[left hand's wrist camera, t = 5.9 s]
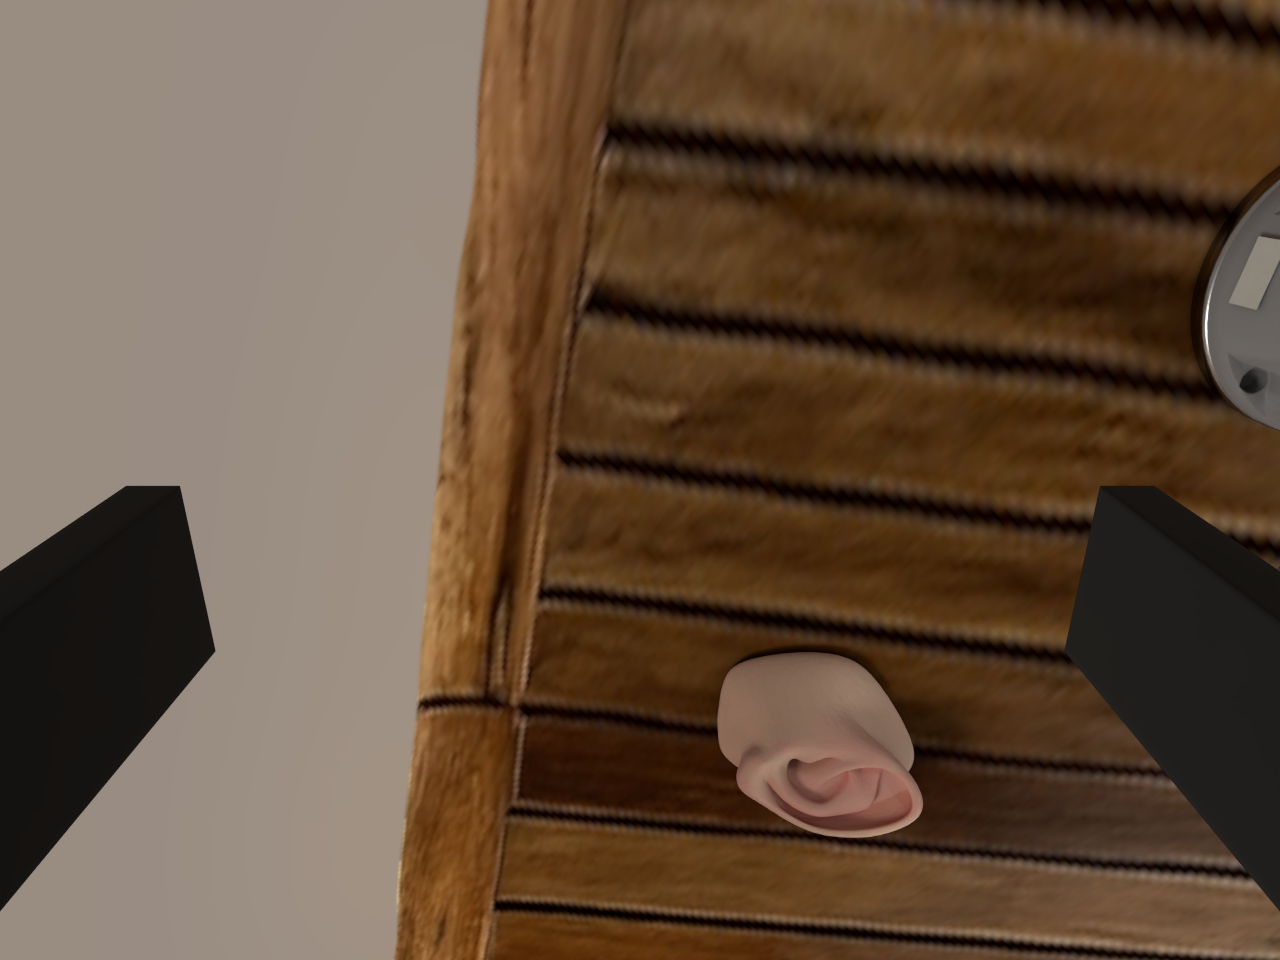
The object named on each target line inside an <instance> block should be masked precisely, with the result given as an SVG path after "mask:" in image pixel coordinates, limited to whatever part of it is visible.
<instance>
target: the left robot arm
mask: <svg viewBox="0 0 1280 960" xmlns="http://www.w3.org/2000/svg"><path fill="white" fill-rule="evenodd" d="M1191 336H1192V343H1193V348H1194V352H1195V356H1196V360H1197V362H1198V365H1199V367H1200V370H1201V372H1202V374H1203V376H1204V377H1205V379H1206V381H1207V382H1208V384H1209V385H1210V387H1211V388H1212V390H1213V391H1214V392H1215V393H1216V394H1217V395H1218V396H1219V397H1220V398H1221V399H1222V400H1223V401H1224V402H1225V403H1226V404H1227V405H1229V406H1230V407H1231V408H1233V409H1234V410H1236V411H1237V412H1239V413H1240V414H1242V415H1244V416H1246V417H1248V418H1250V419H1252V420H1255V421H1257V422H1259V423H1261V424H1263V425H1266V426H1268V427H1271V428H1273V429H1276V430H1279V431H1280V168H1278V169H1277V170H1276V171H1274V172H1273V173H1272V174H1271V175H1269V176H1268V177H1267V178H1266V179H1264V180H1263V181H1262V182H1261V183H1260V184H1259V185H1258V186H1257V187H1256V188H1254V189H1253V190H1252V191H1251V192H1250V193H1249V194H1248V195H1247V197H1246V198H1245V199H1244V200H1243V201H1242V202H1241V203H1240V204H1239V205H1238V206H1237V208H1236V209H1235V210H1234V211H1233V213H1232V214H1231V215H1230V216H1229V218H1228V219H1227V221H1226V222H1225V224H1224V225H1223V227H1222V228H1221V229H1220V231H1219V232H1218V234H1217V236H1216V238H1215V239H1214V241H1213V243H1212V245H1211V247H1210V249H1209V251H1208V253H1207V255H1206V257H1205V259H1204V262H1203V264H1202V267H1201V270H1200V272H1199V275H1198V279H1197V282H1196V286H1195V290H1194V295H1193V301H1192V308H1191ZM214 652H215V647H214V642H213V637H212V633H211V628H210V623H209V619H208V614H207V609H206V605H205V600H204V596H203V591H202V586H201V582H200V577H199V572H198V568H197V563H196V559H195V554H194V549H193V544H192V540H191V535H190V531H189V526H188V521H187V517H186V512H185V507H184V503H183V498H182V493H181V489H180V486H125V487H124V488H122V489H121V490H120V491H118V492H117V493H115V494H114V495H112V496H111V497H109V498H108V499H106V500H105V501H103V502H102V503H100V504H99V505H97V506H96V507H94V508H93V509H91V510H90V511H88V512H87V513H85V514H84V515H83V516H81V517H80V518H78V519H77V520H75V521H74V522H72V523H71V524H69V525H68V526H66V527H65V528H63V529H62V530H60V531H59V532H57V533H56V534H54V535H53V536H52V537H50V538H49V539H47V540H46V541H44V542H43V543H41V544H40V545H38V546H37V547H35V548H34V549H32V550H31V551H29V552H28V553H26V554H25V555H23V556H22V557H20V558H19V559H18V560H16V561H15V562H13V563H12V564H10V565H9V566H7V567H6V568H4V569H3V570H1V571H0V911H1V910H2V908H3V907H4V906H5V905H6V904H7V902H8V901H9V900H10V899H11V898H12V896H13V895H14V894H15V893H16V891H17V890H18V889H19V888H20V887H21V885H22V884H23V883H24V882H25V881H26V879H27V878H28V877H29V876H30V875H31V873H32V872H33V871H34V870H35V869H36V867H37V866H38V865H39V864H40V862H41V861H42V860H43V859H44V858H45V856H46V855H47V854H48V853H49V852H50V850H51V849H52V848H53V847H54V846H55V844H56V843H57V842H58V841H59V840H60V838H61V837H62V836H63V835H64V833H65V832H66V831H67V830H68V829H69V827H70V826H71V825H72V824H73V823H74V821H75V820H76V819H77V818H78V817H79V815H80V814H81V813H82V812H83V810H84V809H85V808H86V807H87V806H88V805H89V803H90V802H91V801H92V800H93V798H94V797H95V796H96V795H97V794H98V792H99V791H100V790H101V789H102V787H103V786H104V785H105V784H106V783H107V782H108V780H109V779H110V778H111V777H112V775H113V774H114V773H115V772H116V771H117V769H118V768H119V767H120V766H121V765H122V763H123V762H124V761H125V760H126V759H127V757H128V756H129V755H130V754H131V753H132V751H133V750H134V749H135V748H136V747H137V745H138V744H139V743H140V742H141V740H142V739H143V738H144V737H145V736H146V734H147V733H148V732H149V731H150V730H151V728H152V727H153V726H154V725H155V724H156V722H157V721H158V720H159V719H160V717H161V716H162V715H163V714H164V713H165V711H166V710H167V709H168V708H169V707H170V705H171V704H172V703H173V702H174V701H175V699H176V698H177V697H178V696H179V695H180V693H181V692H182V691H183V690H184V689H185V687H186V686H187V685H188V684H189V682H190V681H191V680H192V679H193V678H194V676H195V675H196V674H197V673H198V672H199V670H200V669H201V668H202V667H203V666H204V664H205V663H206V662H207V661H208V660H209V658H210V657H211V656H212V655H213V654H214ZM1065 652H1066V654H1067V655H1068V656H1069V657H1070V658H1071V660H1072V661H1073V662H1074V663H1075V664H1076V666H1077V667H1078V668H1079V669H1080V670H1081V672H1082V673H1083V674H1084V675H1085V676H1086V678H1087V679H1088V680H1089V681H1090V683H1091V684H1092V685H1093V686H1094V687H1095V689H1096V690H1097V691H1098V692H1099V693H1100V695H1101V696H1102V697H1103V698H1104V699H1105V701H1106V702H1107V703H1108V704H1109V705H1110V707H1111V708H1112V709H1113V710H1114V711H1115V713H1116V714H1117V715H1118V716H1119V718H1120V719H1121V720H1122V721H1123V722H1124V724H1125V725H1126V726H1127V727H1128V728H1129V730H1130V731H1131V732H1132V733H1133V734H1134V736H1135V737H1136V738H1137V739H1138V740H1139V742H1140V743H1141V744H1142V745H1143V747H1144V748H1145V749H1146V750H1147V751H1148V753H1149V754H1150V755H1151V756H1152V757H1153V759H1154V760H1155V761H1156V762H1157V763H1158V765H1159V766H1160V767H1161V768H1162V769H1163V771H1164V772H1165V773H1166V774H1167V776H1168V777H1169V778H1170V779H1171V780H1172V782H1173V783H1174V784H1175V785H1176V786H1177V788H1178V789H1179V790H1180V791H1181V792H1182V794H1183V795H1184V796H1185V797H1186V798H1187V800H1188V801H1189V802H1190V803H1191V805H1192V806H1193V807H1194V808H1195V809H1196V811H1197V812H1198V813H1199V814H1200V815H1201V817H1202V818H1203V819H1204V820H1205V821H1206V823H1207V824H1208V825H1209V826H1210V827H1211V829H1212V830H1213V831H1214V832H1215V834H1216V835H1217V836H1218V837H1219V838H1220V840H1221V841H1222V842H1223V843H1224V844H1225V846H1226V847H1227V848H1228V849H1229V850H1230V852H1231V853H1232V854H1233V855H1234V856H1235V858H1236V859H1237V860H1238V861H1239V863H1240V864H1241V865H1242V866H1243V867H1244V869H1245V870H1246V871H1247V872H1248V873H1249V875H1250V876H1251V877H1252V878H1253V879H1254V881H1255V882H1256V883H1257V884H1258V885H1259V887H1260V888H1261V889H1262V890H1263V891H1264V893H1265V894H1266V895H1267V896H1268V898H1269V899H1270V900H1271V901H1272V902H1273V904H1274V905H1275V906H1276V907H1277V908H1278V910H1279V911H1280V567H1279V568H1278V569H1276V568H1274V567H1273V566H1271V565H1270V564H1268V563H1267V562H1265V561H1264V560H1262V559H1261V558H1260V557H1258V556H1257V555H1255V554H1254V553H1252V552H1251V551H1249V550H1248V549H1246V548H1245V547H1243V546H1242V545H1240V544H1239V543H1237V542H1236V541H1234V540H1233V539H1231V538H1230V537H1228V536H1227V535H1226V534H1224V533H1223V532H1221V531H1220V530H1218V529H1217V528H1215V527H1214V526H1212V525H1211V524H1209V523H1208V522H1206V521H1205V520H1203V519H1202V518H1200V517H1199V516H1197V515H1196V514H1195V513H1193V512H1192V511H1190V510H1189V509H1187V508H1186V507H1184V506H1183V505H1181V504H1180V503H1178V502H1177V501H1175V500H1174V499H1172V498H1171V497H1169V496H1168V495H1166V494H1165V493H1163V492H1162V491H1161V490H1159V489H1158V488H1156V487H1155V486H1100V489H1099V493H1098V498H1097V503H1096V507H1095V512H1094V517H1093V521H1092V526H1091V531H1090V535H1089V540H1088V544H1087V549H1086V554H1085V558H1084V563H1083V568H1082V572H1081V577H1080V582H1079V586H1078V591H1077V596H1076V600H1075V605H1074V609H1073V614H1072V619H1071V623H1070V628H1069V633H1068V637H1067V642H1066V647H1065Z"/></svg>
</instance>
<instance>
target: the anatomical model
mask: <svg viewBox="0 0 1280 960" xmlns="http://www.w3.org/2000/svg"><path fill="white" fill-rule="evenodd" d="M717 721H718V738H719V744H720V748H721V750H722V752H723V754H724V755H725V756H726V757H727V759H728V760H730V761H731V762H732V763H733V764H734V765H736V766H737V767H738V770H737V783H738V785H739V787H740V789H741V790H742V791H743V792H744V793H745V794H746V795H748V796H749V797H750V798H752V799H754V800H755V801H757V802H759V803H760V804H762V805H763V806H765V807H767V808H768V809H770V810H771V811H773V812H774V813H776V814H778V815H779V816H781V817H782V818H784V819H786V820H788V821H789V822H791V823H793V824H795V825H797V826H799V827H801V828H803V829H806V830H808V831H811V832H814V833H819V834H823V835H828V836H837V837H870V836H876V835H881V834H885V833H889V832H892V831H895V830H898V829H900V828H902V827H904V826H906V825H908V824H910V823H912V822H913V821H914V820H916V819H917V818H918V816H919V815H920V813H921V811H922V807H923V801H922V796H921V793H920V790H919V788H918V786H917V784H916V782H915V781H914V779H913V778H912V776H911V775H910V773H909V772H908V771H909V770H910V768H911V766H912V764H913V760H914V750H913V745H912V742H911V739H910V736H909V734H908V732H907V730H906V728H905V725H904V723H903V721H902V719H901V718H900V716H899V714H898V712H897V711H896V709H895V707H894V706H893V704H892V702H891V701H890V699H889V698H888V696H887V695H886V693H885V692H884V690H883V689H882V688H881V686H880V685H879V684H878V682H877V681H876V680H875V679H874V678H873V677H872V675H871V674H870V673H869V672H868V671H867V670H866V669H864V668H863V667H862V666H861V665H859V664H858V663H856V662H855V661H852V660H850V659H848V658H845V657H842V656H839V655H834V654H829V653H818V652H796V653H783V654H776V655H768V656H763V657H758V658H753V659H750V660H746V661H744V662H742V663H739V664H738V665H736V666H735V667H733V668H732V669H731V670H730V671H729V672H728V674H727V675H726V677H725V680H724V682H723V686H722V690H721V695H720V702H719V709H718V720H717Z"/></svg>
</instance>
